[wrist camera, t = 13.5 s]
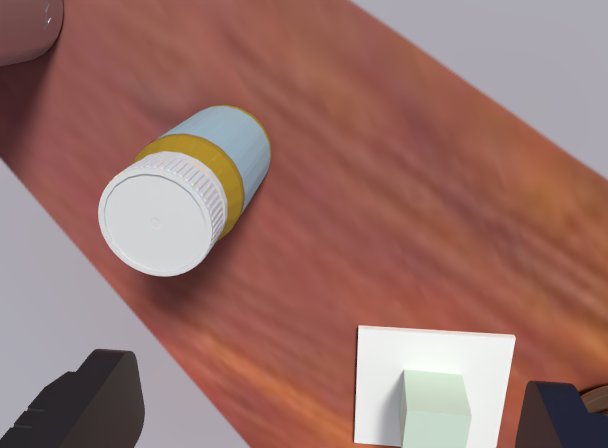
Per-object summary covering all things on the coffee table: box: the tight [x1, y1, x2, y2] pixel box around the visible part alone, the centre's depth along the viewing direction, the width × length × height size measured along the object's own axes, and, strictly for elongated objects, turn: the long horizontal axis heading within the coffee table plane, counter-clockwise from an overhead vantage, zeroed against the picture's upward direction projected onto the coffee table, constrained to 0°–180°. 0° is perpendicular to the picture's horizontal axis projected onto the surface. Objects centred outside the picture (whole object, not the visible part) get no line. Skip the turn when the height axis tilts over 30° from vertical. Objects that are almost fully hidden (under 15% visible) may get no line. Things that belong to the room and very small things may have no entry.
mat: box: [354, 325, 516, 448], centre depth 47 cm, size 13×13×1 cm
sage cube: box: [399, 369, 472, 448], centre depth 45 cm, size 5×5×5 cm
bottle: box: [98, 105, 272, 276], centre depth 34 cm, size 7×7×15 cm
